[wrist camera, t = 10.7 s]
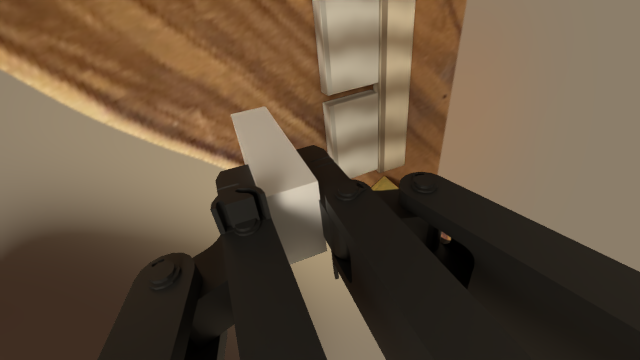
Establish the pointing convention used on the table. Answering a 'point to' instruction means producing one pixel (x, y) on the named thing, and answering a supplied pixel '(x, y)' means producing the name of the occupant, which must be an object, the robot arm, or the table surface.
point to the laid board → (394, 80)
